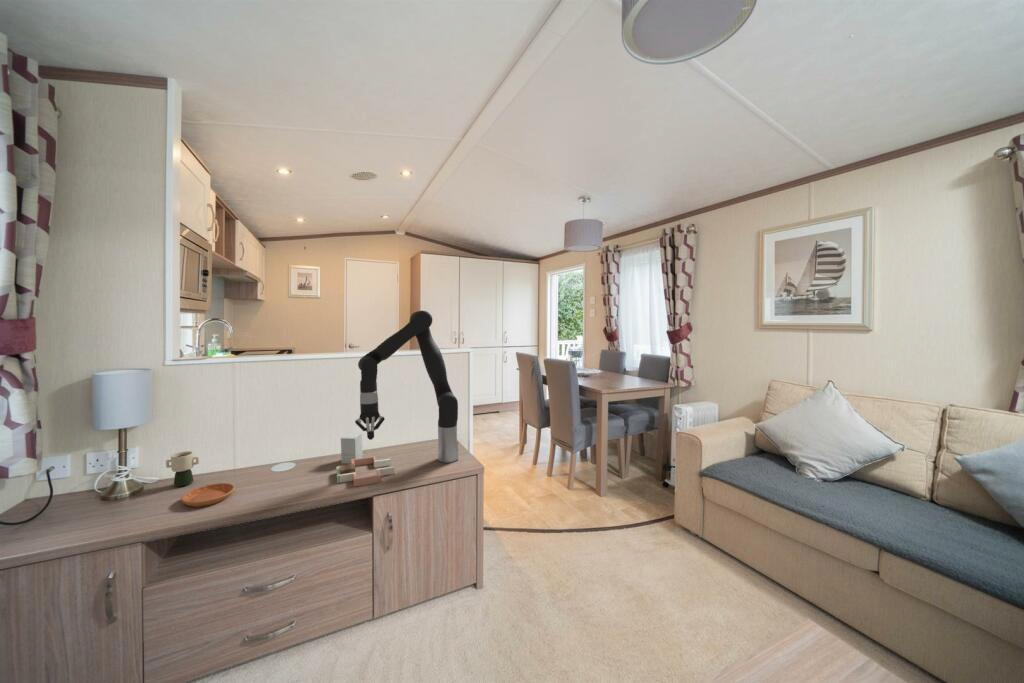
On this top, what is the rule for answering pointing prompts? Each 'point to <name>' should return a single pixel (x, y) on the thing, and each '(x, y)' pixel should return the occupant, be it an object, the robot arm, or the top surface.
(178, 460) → the character mug
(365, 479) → the corral
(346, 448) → the supplement box
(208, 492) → the saucer
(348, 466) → the walnut block
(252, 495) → the top surface
